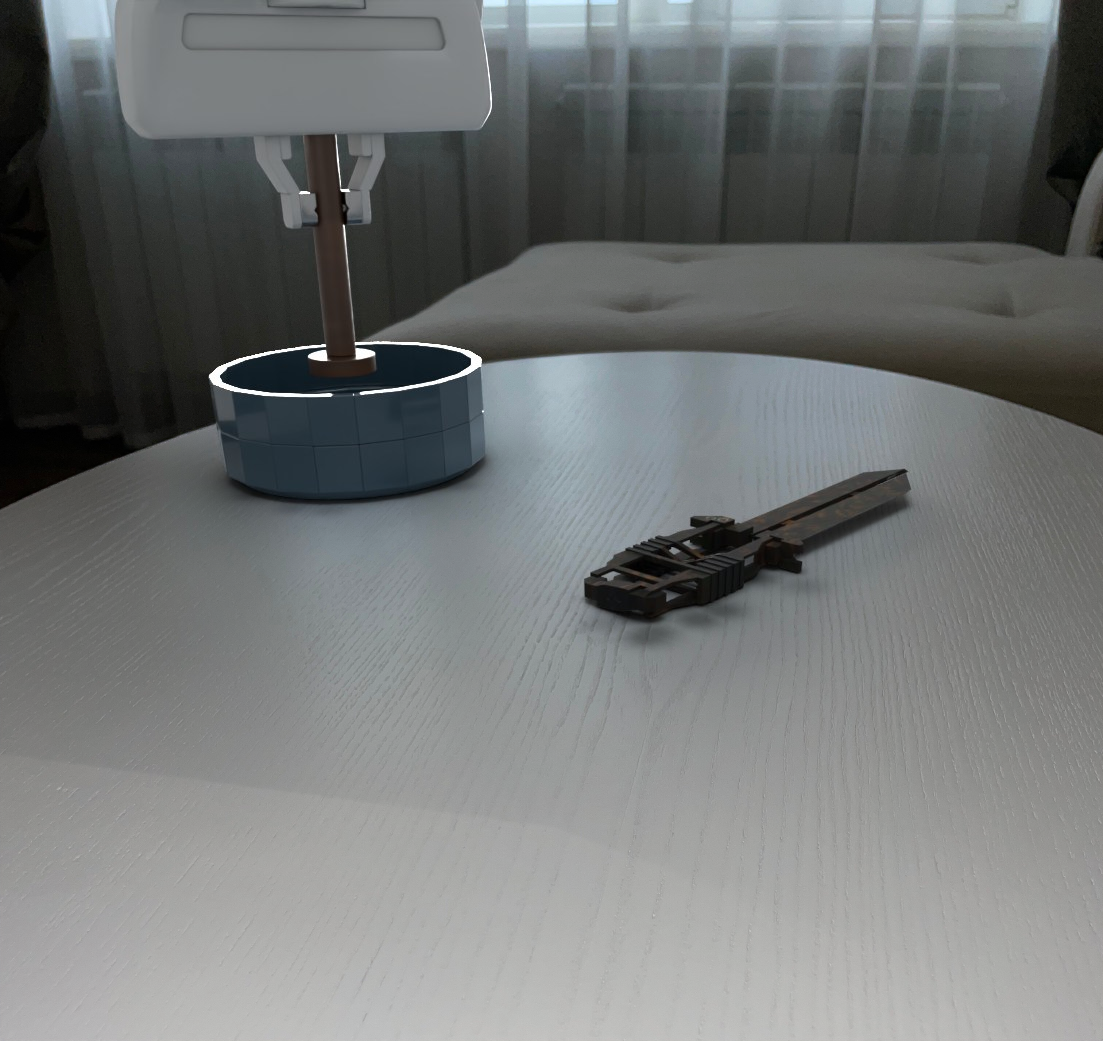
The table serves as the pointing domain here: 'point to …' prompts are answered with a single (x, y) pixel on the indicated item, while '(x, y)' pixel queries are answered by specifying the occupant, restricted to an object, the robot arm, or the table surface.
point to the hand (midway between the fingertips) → (328, 225)
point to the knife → (721, 532)
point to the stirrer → (332, 267)
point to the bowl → (350, 421)
